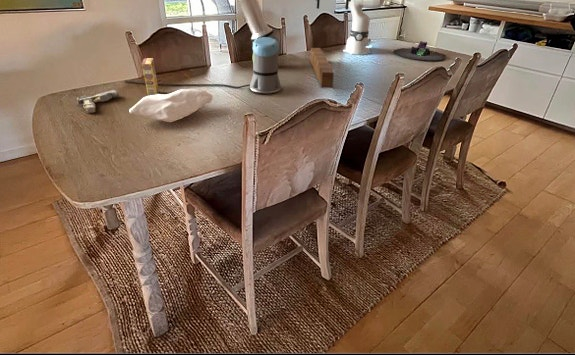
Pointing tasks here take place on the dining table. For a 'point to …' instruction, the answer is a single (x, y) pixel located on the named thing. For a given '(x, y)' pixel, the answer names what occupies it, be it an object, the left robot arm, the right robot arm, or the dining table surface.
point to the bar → (322, 68)
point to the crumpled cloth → (171, 104)
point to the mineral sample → (419, 53)
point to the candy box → (150, 76)
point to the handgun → (95, 100)
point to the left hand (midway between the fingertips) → (332, 8)
